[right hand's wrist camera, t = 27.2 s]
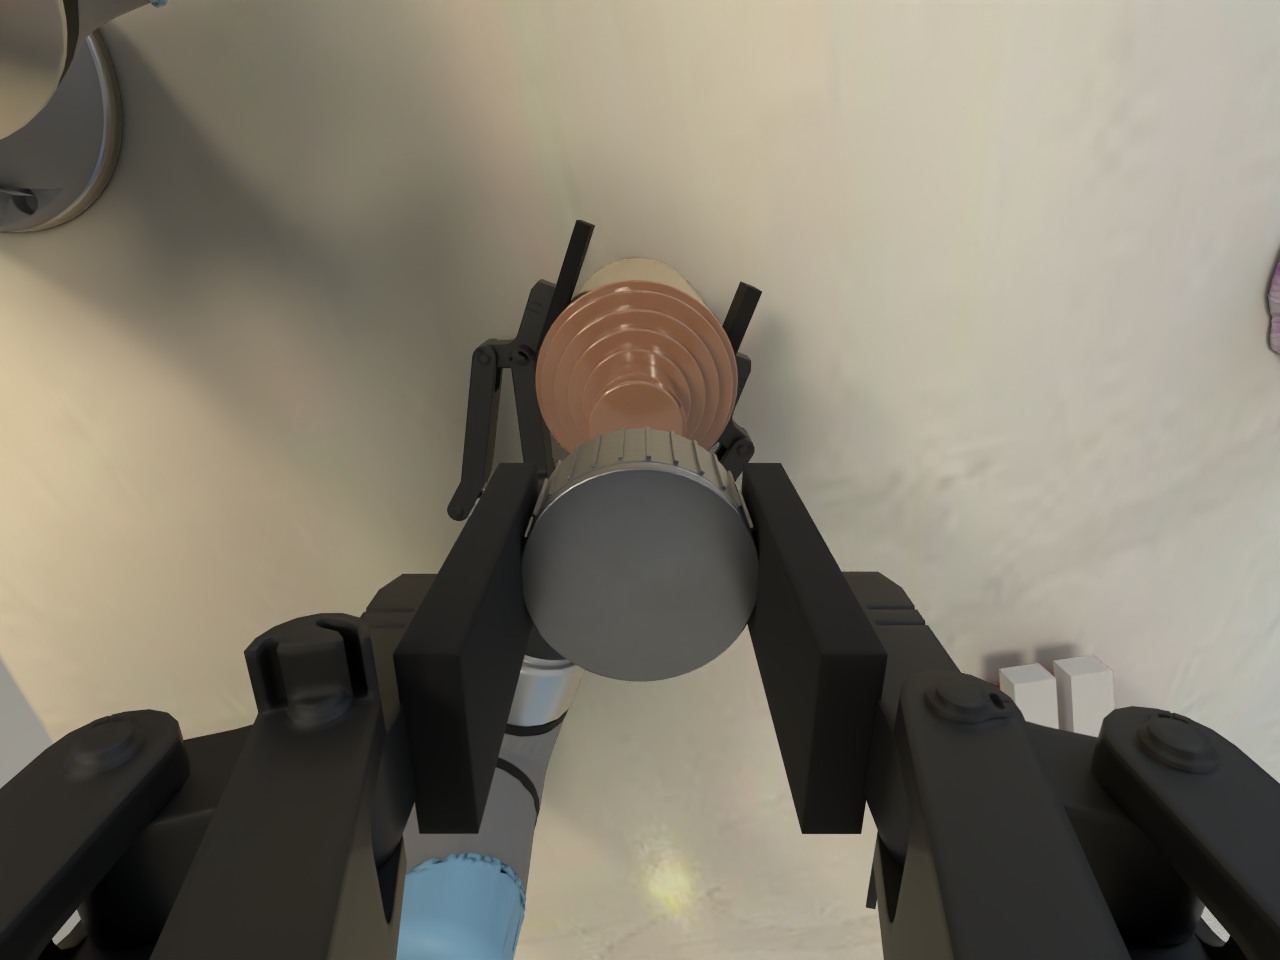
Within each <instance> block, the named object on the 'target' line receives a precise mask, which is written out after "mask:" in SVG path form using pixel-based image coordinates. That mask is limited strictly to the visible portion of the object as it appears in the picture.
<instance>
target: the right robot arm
mask: <svg viewBox="0 0 1280 960" xmlns="http://www.w3.org/2000/svg"><path fill="white" fill-rule="evenodd" d="M742 496H743V498H744V501H745V504H746V507H747V509H748V512H749V515H750V518H751V520H752V523H753V526H754V529H755V531H752V534H753V537H754V540H755V542H756V545H757V548H758V553H759V574H758V588H757V601H756V606H755V608H754V611H753V613H752V616H751V618H750V619H749V621H748V623H747V624H748V628H749V632H750V635H751V639H752V643H753V647H754V651H755V655H756V659H757V662H758V666H759V670H760V674H761V678H762V682H763V685H764V689H765V693H766V697H767V701H768V705H769V709H770V712H771V716H772V720H773V724H774V728H775V732H776V735H777V739H778V743H779V747H780V751H781V755H782V758H783V762H784V766H785V770H786V774H787V778H788V782H789V785H790V789H791V793H792V797H793V801H794V805H795V808H796V812H797V816H798V820H799V824H800V828H801V832H802V834H861V831H862V824H863V817H864V811H865V804H866V800H867V803H868V806H869V808H870V811H871V813H872V816H873V819H874V821H875V824H876V826H877V829H878V833H877V839H876V845H875V851H874V858H873V864H872V870H871V876H870V883H869V889H868V895H867V903H866V907H867V908H872V909H875V907H876V902H877V901H878V910H879V919H880V928H881V937H882V946H883V955H884V960H1280V784H1279V783H1278V782H1277V781H1276V780H1275V779H1274V778H1272V777H1271V776H1270V775H1269V774H1268V773H1267V772H1265V771H1264V770H1263V769H1262V768H1261V767H1260V766H1259V765H1257V764H1256V763H1255V762H1254V761H1253V760H1252V759H1250V758H1249V757H1248V756H1247V755H1246V754H1245V753H1243V752H1242V751H1241V750H1240V749H1239V748H1238V747H1237V746H1235V745H1234V744H1232V743H1231V742H1229V741H1228V740H1227V739H1225V738H1224V737H1222V736H1221V735H1219V734H1218V733H1216V732H1215V731H1214V730H1212V729H1210V728H1208V727H1206V726H1203V725H1201V724H1199V723H1197V722H1195V721H1193V720H1191V719H1189V718H1187V717H1185V716H1182V715H1179V714H1176V713H1170V712H1169V711H1164V710H1160V709H1154V708H1144V707H1134V706H1131V707H1126V708H1120V709H1115V710H1113V711H1112V712H1110V713H1109V714H1108V715H1107V716H1106V717H1105V718H1103V722H1102V725H1101V729H1100V732H1099V736H1098V737H1094V736H1089V735H1084V734H1079V733H1075V732H1070V731H1065V730H1060V729H1055V728H1051V727H1046V726H1042V725H1039V724H1035V723H1031V722H1028V721H1025V719H1024V716H1023V714H1022V712H1021V711H1020V709H1019V708H1018V707H1017V705H1016V704H1015V703H1014V701H1013V700H1012V698H1011V697H1009V696H1008V695H1007V694H1005V693H1004V692H1003V691H1001V690H1000V689H998V688H997V687H996V686H994V685H993V684H990V683H988V682H986V681H984V680H981V679H979V678H977V677H974V676H972V675H968V674H964V673H961V672H960V671H959V669H958V668H957V666H956V665H955V663H954V662H953V661H952V659H951V658H950V656H949V655H948V653H947V652H946V650H945V649H944V648H943V646H942V645H941V643H940V642H939V640H938V639H937V638H936V636H935V635H934V633H933V632H932V630H931V629H930V628H929V626H928V625H925V620H924V619H923V617H922V616H921V615H920V613H919V612H918V610H915V608H914V605H913V603H912V602H911V600H910V599H909V597H908V596H907V595H906V593H905V592H904V590H903V589H902V587H900V586H899V585H897V584H896V583H894V582H893V581H891V580H890V579H888V578H887V577H885V576H884V575H882V574H881V573H879V572H841V570H840V568H839V566H838V565H837V563H836V561H835V559H834V557H833V556H832V554H831V552H830V550H829V549H828V547H827V545H826V543H825V541H824V540H823V538H822V536H821V534H820V533H819V531H818V529H817V527H816V525H815V524H814V522H813V520H812V518H811V516H810V515H809V513H808V511H807V509H806V508H805V506H804V504H803V502H802V500H801V499H800V497H799V495H798V493H797V491H796V490H795V488H794V486H793V484H792V483H791V481H790V479H789V477H788V475H787V474H786V472H785V470H784V468H783V466H782V465H781V463H743V476H742ZM538 497H539V485H538V467H537V463H500V464H499V466H498V467H497V469H496V471H495V473H494V474H493V476H492V478H491V480H490V482H489V483H488V485H487V487H486V489H485V491H484V492H483V494H482V496H481V498H480V499H479V501H478V503H477V505H476V507H475V508H474V510H473V512H472V514H471V516H470V517H469V519H468V521H467V523H466V524H465V526H464V528H463V530H462V532H461V533H460V535H459V537H458V539H457V541H456V542H455V544H454V546H453V548H452V549H451V551H450V553H449V555H448V557H447V558H446V560H445V562H444V564H443V566H442V567H441V569H440V571H439V573H438V574H402V575H401V576H399V577H398V578H396V579H395V580H393V581H392V582H390V583H389V584H387V585H386V586H384V587H383V588H381V589H380V590H379V591H378V592H377V594H376V595H375V597H374V598H373V600H372V601H371V602H370V604H369V605H368V607H367V608H366V612H364V613H363V614H362V615H361V617H360V618H359V617H355V616H351V615H347V614H343V613H320V614H315V615H310V616H305V617H300V618H296V619H293V620H290V621H288V622H285V623H283V624H280V625H277V626H275V627H273V628H271V629H270V630H268V631H266V632H265V633H263V634H262V635H260V636H258V637H257V638H255V640H254V641H253V642H252V643H251V644H250V645H249V646H248V647H247V649H246V650H245V651H244V654H245V658H246V663H247V667H248V671H249V675H250V679H251V684H252V688H253V692H254V696H255V700H256V704H257V709H258V715H257V718H256V720H255V722H254V724H253V725H249V726H246V727H242V728H239V729H235V730H230V731H225V732H220V733H216V734H211V735H206V736H201V737H197V738H192V739H187V740H183V737H182V734H181V730H180V727H179V723H178V721H177V720H176V719H174V718H173V717H172V716H171V715H170V714H169V713H166V712H161V711H155V710H150V709H148V710H138V711H128V712H122V713H118V714H113V715H112V716H106V717H103V718H100V719H97V720H95V721H93V722H91V723H89V724H87V725H85V726H83V727H81V728H79V729H76V730H74V731H72V732H70V733H68V734H67V735H66V736H64V737H63V738H61V739H60V740H58V741H57V742H56V743H54V744H53V745H51V746H50V747H48V748H47V749H46V750H44V751H43V752H42V753H41V754H40V755H39V756H38V757H36V758H35V759H34V760H33V761H32V762H31V763H30V764H28V765H27V766H26V767H25V768H24V769H23V770H21V771H20V772H19V773H18V774H17V775H16V776H15V777H13V778H12V779H11V780H10V781H9V782H8V783H7V784H5V785H4V786H3V787H2V788H1V789H0V960H396V956H397V948H398V939H399V930H400V921H401V912H402V903H403V894H404V885H405V876H406V867H407V859H406V852H405V845H404V839H403V831H404V829H405V826H406V824H407V821H408V818H409V816H410V813H411V810H412V808H413V805H414V803H415V808H416V814H417V821H418V828H419V834H478V833H479V829H480V826H481V822H482V818H483V814H484V810H485V806H486V803H487V799H488V795H489V791H490V787H491V783H492V779H493V776H494V772H495V768H496V764H497V760H498V756H499V753H500V749H501V745H502V741H503V737H504V733H505V729H506V726H507V722H508V718H509V714H510V710H511V706H512V703H513V699H514V695H515V691H516V687H517V683H518V680H519V676H520V672H521V668H522V664H523V660H524V656H525V653H526V649H527V645H528V641H529V637H530V633H531V630H532V626H533V622H532V620H531V619H530V617H529V615H528V613H527V610H526V607H525V604H524V596H523V582H522V566H521V555H522V551H523V547H524V543H525V540H524V536H525V533H526V530H527V527H528V524H529V522H530V519H531V516H532V513H533V510H534V508H535V505H536V502H537V499H538ZM1205 906H1206V907H1207V908H1208V910H1209V911H1210V912H1211V913H1212V914H1213V915H1214V917H1215V918H1216V919H1217V920H1218V921H1219V923H1220V924H1221V925H1222V926H1223V927H1224V928H1225V930H1226V931H1227V932H1228V933H1229V934H1230V937H1229V940H1228V941H1227V942H1224V941H1222V940H1221V939H1220V938H1219V937H1218V936H1217V935H1216V934H1215V933H1214V932H1213V931H1212V930H1211V929H1210V927H1209V926H1208V925H1207V924H1206V923H1205V921H1204V920H1203V919H1202V918H1201V915H1202V912H1203V910H1204V907H1205ZM76 909H77V911H78V913H79V916H80V918H81V920H80V921H79V922H78V924H77V925H76V926H75V927H74V929H73V930H72V931H71V932H70V933H69V934H68V935H67V936H66V937H65V938H64V939H63V940H62V941H60V942H59V943H58V944H57V945H55V944H54V943H53V941H52V938H53V937H54V936H55V934H56V933H57V932H58V931H59V930H60V928H61V927H62V926H63V925H64V924H65V923H66V921H67V920H68V919H69V918H70V917H71V915H72V914H73V913H74V912H75V911H76Z"/></svg>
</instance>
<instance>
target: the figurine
mask: <svg viewBox="0 0 1280 960" xmlns="http://www.w3.org/2000/svg"><path fill="white" fill-rule="evenodd" d="M1267 297H1268V300H1269V308H1270V312H1271V316H1272V321H1271V322H1272V327H1271V334H1270V343H1271V348H1272V350H1274V351H1276V352H1277V353H1279V354H1280V259H1279V261H1278V264H1277V267H1276V269H1275V272H1274V275H1273V278H1272V282H1271V286H1270V290H1269V294H1268V295H1267Z"/></svg>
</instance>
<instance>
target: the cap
mask: <svg viewBox="0 0 1280 960" xmlns="http://www.w3.org/2000/svg"><path fill="white" fill-rule="evenodd" d="M752 531H755V529H754V526H753V523H752V520H751V518H750V515H749V512H748V509H747V507H746V504H745V501H744V498H743V496H742V493H741V490H740V491H738V490H737V487H736V485H735V482H734V479H733V476H732V473H731V472H730V471H728V472H727V471H726V470H725V468H724V467H723V466H722V464H721V463H720V462H719V461H718V459H717V456H716V455H715V454H714V453H713V454H710V453H709V452H708V451H707V450H705V449H704V448H703V447H701V446H700V445H698V443H697V441H696V440H693V441H691V440H689V439H687V438H684V437H682V436H680V435H677V434H675V432H674V431H670V432H667V431H662V430H656V429H650V427H646V428H645V429H643V428H634V429H625V428H620V430H618V431H614V432H610V433H606V434H604V435H601V434H597V435H596V438H593V439H592V440H590V441H588V442H586V443H584V444H582V445H581V446H579V445H577V446H575V449H574V451H572V452H571V453H570V454H569V455H568V456H567V457H566V458H565V459H563V460H562V461H561V460H559V461H558V462H557V465H556V468H555V470H554V471H553V473H552V474H551V476H550V478H549V479H547V478H546V479H545V480H544V483H543V486H542V488H541V491H540V494H539V497H538V499H537V502H536V505H535V508H534V510H533V513H532V516H531V519H530V522H529V524H528V527H527V530H526V533H525V536H524V540H525V543H524V547H523V551H522V555H521V566H522V582H523V596H524V604H525V607H526V610H527V613H528V615H529V617H530V619H531V620H532V622H533V624H534V626H535V627H536V629H537V630H538V632H539V633H540V635H541V636H542V637H543V638H544V639H545V640H546V642H547V643H548V644H549V645H550V646H551V647H552V648H553V649H554V650H556V651H557V652H558V653H559V654H560V655H562V656H563V657H564V658H566V659H567V660H569V661H570V662H572V663H573V664H575V665H577V666H579V667H581V668H583V669H585V670H587V671H590V672H592V673H595V674H598V675H601V676H605V677H609V678H613V679H618V680H626V681H654V680H662V679H667V678H672V677H676V676H679V675H682V674H685V673H688V672H691V671H693V670H695V669H697V668H699V667H702V666H703V665H705V664H707V663H708V662H710V661H712V660H713V659H715V658H716V657H717V656H719V655H720V654H721V653H722V652H724V651H725V650H726V649H727V648H728V647H729V646H730V645H731V644H732V643H733V642H734V641H735V640H736V639H737V637H738V636H739V635H740V634H741V632H742V631H743V630H744V628H745V626H746V625H747V623H748V621H749V619H750V618H751V616H752V613H753V611H754V608H755V606H756V601H757V588H758V574H759V553H758V548H757V545H756V542H755V540H754V537H753V534H752Z"/></svg>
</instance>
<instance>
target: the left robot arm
mask: <svg viewBox="0 0 1280 960" xmlns="http://www.w3.org/2000/svg"><path fill="white" fill-rule="evenodd" d="M150 2H151V3H152V4H153V5H154V6H156V7H161V6H165V5H166V4H167V0H0V232H27V231H37V230H43V229H47V228H51V227H54V226H57V225H60V224H63V223H65V222H67V221H69V220H71V219H73V218H74V217H76V216H77V215H79V214H80V213H82V212H83V211H84V210H86V209H87V208H88V207H89V206H90V205H91V204H92V203H93V202H94V201H95V200H96V199H97V198H98V196H99V195H100V194H101V192H102V191H103V190H104V188H105V187H106V185H107V183H108V181H109V179H110V177H111V175H112V173H113V170H114V168H115V165H116V163H117V159H118V155H119V151H120V145H121V138H122V122H123V121H122V104H121V97H120V90H119V86H118V82H117V77H116V73H115V70H114V67H113V64H112V61H111V58H110V55H109V53H108V50H107V48H106V45H105V43H104V41H103V39H102V37H101V35H100V33H99V31H98V29H97V28H98V27H100V26H101V25H103V24H104V23H106V22H108V21H110V20H111V19H113V18H115V17H117V16H119V15H122V14H124V13H126V12H129V11H131V10H134V9H136V8H138V7H141V6H143V5H146V4H148V3H150ZM594 227H595V225H592V224H590V223H587V222H585V221H582V220H576V223H575V227H574V230H573V233H572V236H571V239H570V243H569V246H568V249H567V252H566V255H565V259H564V262H563V265H562V268H561V271H560V275H559V278H558V281H557V284H553V283H550V282H548V281H545V280H542V279H541V280H539V281H538V282H537V283H536V284H535V286H534V287H533V288H532V289H531V292H530V295H529V298H528V302H527V305H526V309H525V312H524V315H523V318H522V322H521V325H520V328H519V332H518V335H517V337H516V338H515V339H512V340H497V339H489V340H487V341H485V342H484V343H483V344H482V345H480V346H479V347H478V348H477V349H476V350H475V351H474V353H473V356H472V367H471V378H470V389H469V399H468V410H467V421H466V432H465V443H464V454H463V465H462V476H461V482H460V484H459V486H458V488H457V490H456V492H455V494H454V496H453V498H452V500H451V501H450V503H449V505H448V508H447V511H448V515H449V516H450V517H451V518H452V519H453V520H456V521H462V520H464V519H466V518H467V517H470V516H471V514H472V512H473V510H474V508H475V507H476V505H477V503H478V501H479V499H480V498H481V496H482V494H483V492H484V491H485V489H486V487H487V485H488V482H487V480H488V478H489V476H490V473H491V469H492V464H493V455H494V446H495V437H496V428H497V418H498V409H499V400H500V390H501V381H502V372H503V368H511V369H512V377H513V384H514V392H515V400H516V407H517V415H518V422H519V430H520V437H521V445H522V453H523V460H524V463H537V467H538V485H539V494H540V491H541V488H542V486H543V483H544V480H545V479H546V478H547V479H549V478H550V476H551V474H552V473H553V471H554V470H555V463H554V459H553V456H552V448H551V440H550V431H549V429H548V427H547V425H546V423H545V421H544V418H543V416H542V414H541V411H540V407H539V404H538V400H537V393H536V377H535V375H536V366H537V360H538V356H539V352H540V348H541V346H542V343H543V341H544V338H545V336H546V334H547V333H548V331H549V329H550V327H551V326H552V324H553V323H554V322H555V320H556V319H557V318H558V316H559V315H560V314H561V313H562V311H563V310H564V309H565V308H566V306H567V305H568V304H569V303H570V301H571V298H572V295H573V292H574V289H575V286H576V283H577V280H578V276H579V273H580V270H581V267H582V264H583V261H584V258H585V255H586V252H587V249H588V245H589V242H590V239H591V236H592V233H593V230H594ZM761 293H762V291H760V290H758V289H757V288H755V287H753V286H751V285H748V284H745V283H743V282H740V284H739V286H738V289H737V291H736V294H735V296H734V299H733V301H732V304H731V306H730V309H729V311H728V314H727V316H726V319H725V321H724V324H723V326H722V327H723V329H724V330H725V332H726V334H727V336H728V338H729V341H730V343H731V345H732V349H733V352H734V355H735V359H736V365H737V374H738V386H737V396H736V400H735V405H734V409H735V407H736V404H737V402H738V400H739V397H740V395H741V393H742V390H743V388H744V385H745V383H746V381H747V378H748V376H749V374H750V371H751V360H750V359H749V358H748V356H746V355H744V354H741V353H738V352H737V351H738V349H739V346H740V344H741V342H742V339H743V337H744V334H745V332H746V330H747V327H748V325H749V322H750V320H751V318H752V315H753V313H754V310H755V308H756V305H757V303H758V301H759V298H760V296H761ZM734 409H733V411H734ZM733 411H732V414H731V417H730V420H729V422H728V423H727V425H726V427H725V429H724V431H723V433H722V434H721V435H720V437H719V438H718V440H717V441H716V442H715V443H714V445H715V444H716V443H717V442H719V443H720V445H719V446H718V448H717V450H716V451H715V453H714V454H715V455H716V456H717V459H718V461H719V462H720V463H721V464H722V466H723V467H724V468H725V470H726V471H727V472H728V471H730V472H731V473H732V476H733V479H734V482H735V481H736V479H737V478H738V476H739V475H740V473H741V472H742V470H743V463H748V462H749V460H750V459H751V457H752V456H753V453H754V445H753V443H752V441H751V439H750V437H749V435H748V433H747V431H746V430H745V429H744V428H742V427H740V426H739V425H738V424H736V423H735V422H734V421H733V420H732V415H733ZM714 445H713V446H714ZM713 446H712V447H713ZM712 447H711V448H712ZM584 671H585V669H583V668H581V667H579V666H577V665H575V664H573V663H572V662H570V661H569V660H567V659H566V658H564V657H563V656H562V655H560V654H559V653H558V652H557V651H556V650H554V649H553V648H552V647H551V646H550V645H549V644H548V643H547V642H546V640H545V639H544V638H543V637H542V636H541V635H540V633H539V632H538V630H537V629H536V627H535V626H534V624H533V626H532V630H531V633H530V637H529V641H528V645H527V649H526V653H525V656H524V660H523V664H522V668H521V672H520V676H519V680H518V683H517V687H516V691H515V695H514V699H513V703H512V706H511V710H510V714H509V718H508V722H507V726H506V729H505V733H504V737H503V741H502V745H501V749H500V753H499V756H498V760H497V764H496V768H495V772H494V776H493V779H492V783H491V787H490V791H489V795H488V799H487V803H486V806H485V810H484V814H483V818H482V822H481V826H480V829H479V833H478V834H419V828H418V821H417V814H416V808H415V803H414V805H413V808H412V810H411V813H410V816H409V818H408V821H407V824H406V826H405V829H404V831H403V839H404V845H405V852H406V859H407V867H406V876H405V885H404V894H403V903H402V912H401V921H400V930H399V939H398V948H397V956H396V960H513V958H514V954H515V950H516V946H517V942H518V938H519V934H520V929H521V925H522V922H523V919H524V911H525V901H526V889H527V881H528V874H529V866H530V858H531V850H532V843H533V835H534V829H535V826H536V822H537V817H538V814H539V810H540V804H541V798H542V792H543V786H544V780H545V774H546V769H547V766H548V762H549V759H550V756H551V753H552V750H553V747H554V744H555V742H556V739H557V736H558V733H559V730H560V728H561V725H562V722H563V719H564V717H565V715H566V713H567V711H568V708H569V706H570V704H571V703H572V700H573V698H574V695H575V693H576V690H577V688H578V685H579V683H580V681H581V678H582V676H583V673H584Z"/></svg>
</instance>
